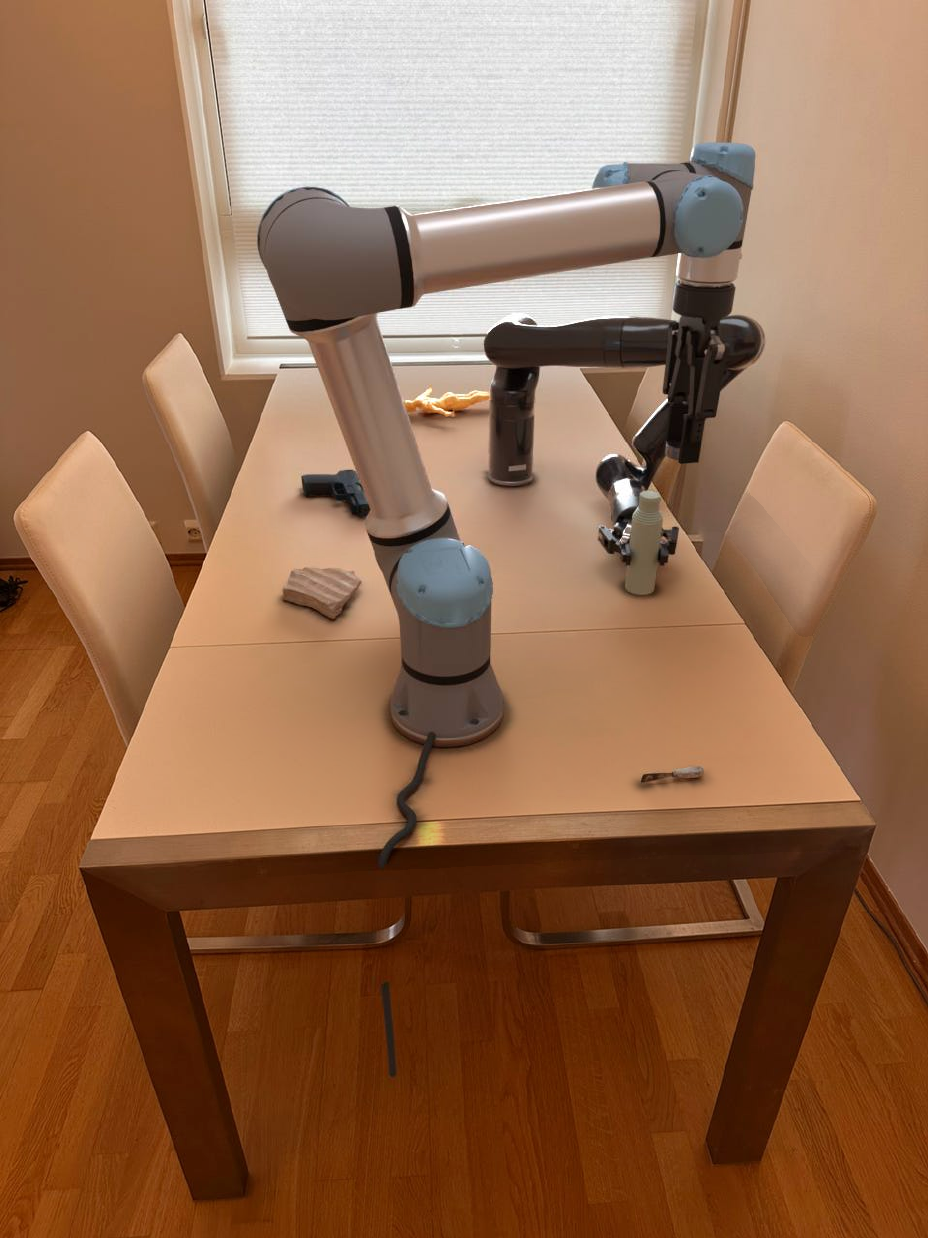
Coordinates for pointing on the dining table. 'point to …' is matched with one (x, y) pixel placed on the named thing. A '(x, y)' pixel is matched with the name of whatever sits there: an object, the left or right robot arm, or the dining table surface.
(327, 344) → the left robot arm
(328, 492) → the handgun
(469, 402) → the human figure
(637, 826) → the dining table surface
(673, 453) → the cap
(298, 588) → the stone
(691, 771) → the putty knife
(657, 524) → the bottle
